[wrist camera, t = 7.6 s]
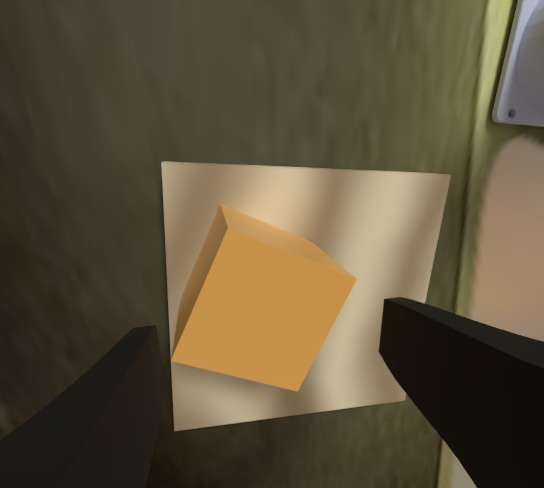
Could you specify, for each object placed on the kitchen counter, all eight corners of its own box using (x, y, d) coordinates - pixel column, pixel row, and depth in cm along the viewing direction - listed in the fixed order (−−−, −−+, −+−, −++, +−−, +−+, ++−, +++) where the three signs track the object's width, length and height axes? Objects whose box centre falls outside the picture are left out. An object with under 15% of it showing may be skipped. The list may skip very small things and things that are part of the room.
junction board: (432, 173, 18) (522, 181, 13) (392, 384, 22) (448, 454, 17) (165, 161, 15) (145, 165, 10) (176, 410, 19) (166, 506, 14)
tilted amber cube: (312, 242, 16) (357, 279, 12) (272, 325, 17) (297, 391, 12) (220, 203, 15) (227, 227, 10) (180, 298, 16) (170, 360, 11)
